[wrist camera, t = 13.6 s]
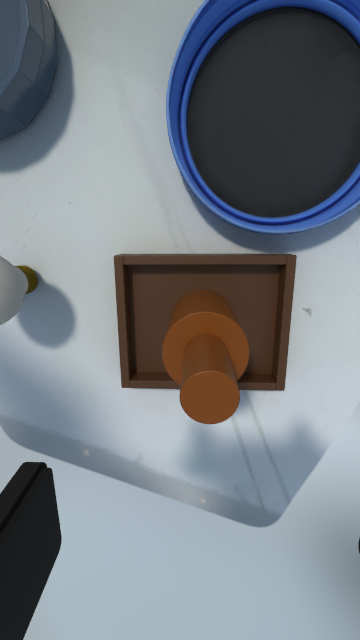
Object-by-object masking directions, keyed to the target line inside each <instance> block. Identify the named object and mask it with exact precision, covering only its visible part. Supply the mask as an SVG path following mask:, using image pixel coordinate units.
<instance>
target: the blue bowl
mask: <svg viewBox="0 0 360 640" xmlns="http://www.w3.org/2000/svg"><path fill="white" fill-rule="evenodd" d="M56 65H57V51H56V40H55V29H54V18H53V15H52V12H51V10H50V8H49V5H48V3H47V1H46V0H0V140H2V139H4V138H6V137H8V136H9V135H11V134H13V133H15V132H17V131H19V130H21V129H23V128H24V127H26V126H27V125H29V123H30V122H31V121H32V119H33V118H34V116H35V115H36V114H37V112H38V111H39V110H40V108H41V107H42V105H43V104H44V103H45V101H46V100H47V98H48V97H49V93H50V89H51V85H52V81H53V77H54V73H55V69H56Z"/></svg>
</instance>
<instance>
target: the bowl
mask: <svg viewBox="0 0 360 640" xmlns="http://www.w3.org/2000/svg"><path fill="white" fill-rule="evenodd" d="M166 115H167V127H168V135H169V140H170V144H171V148H172V151H173V155H174V158H175V161H176V163H177V166H178V168H179V170H180V172H181V174H182V176H183V178H184V180H185V182H186V183H187V185H188V186H189V188H190V189H191V191H192V192H193V194H194V195H195V196H196V197H197V198H198V200H199V201H200V202H201V203H202V204H203V205H204V206H205V207H206V208H208V209H209V210H210V211H211V212H212V213H214V214H215V215H216V216H218V217H219V218H221V219H222V220H224V221H226V222H228V223H230V224H232V225H234V226H236V227H239V228H242V229H245V230H248V231H252V232H257V233H264V234H290V233H297V232H302V231H306V230H310V229H313V228H316V227H319V226H322V225H325V224H327V223H329V222H331V221H334V220H336V219H338V218H340V217H341V216H343V215H345V214H346V213H348V212H350V211H351V210H352V209H354V208H355V207H357V206H358V205H359V204H360V0H205V1H204V2H203V3H202V5H201V6H200V7H199V9H198V10H197V12H196V13H195V15H194V17H193V18H192V20H191V22H190V23H189V25H188V27H187V29H186V31H185V33H184V35H183V37H182V40H181V42H180V45H179V47H178V50H177V52H176V55H175V58H174V61H173V65H172V68H171V72H170V77H169V82H168V89H167V99H166Z"/></svg>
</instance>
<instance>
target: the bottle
mask: <svg viewBox="0 0 360 640" xmlns="http://www.w3.org/2000/svg"><path fill="white" fill-rule="evenodd" d="M162 358H163V363H164V366H165V368H166V370H167V372H168V374H169V375H170V377H171V378H172V379H173V380H174V381H175V382H176V383H177V384H179V385H180V386H181V387H180V403H181V406H182V408H183V410H184V411H185V413H186V414H187V415H188V416H189V417H190V418H192V419H193V420H195V421H197V422H200V423H204V424H216V423H220V422H223V421H225V420H227V419H228V418H229V417H231V416H232V415H233V414H234V412H235V411H236V409H237V407H238V405H239V401H240V393H239V388H238V385H237V382H236V381H237V380H238V379H239V378H240V377H241V376H242V374H243V373H244V371H245V369H246V367H247V364H248V361H249V343H248V340H247V337H246V335H245V333H244V331H243V329H242V327H241V325H240V324H239V322H238V320H237V318H236V316H235V314H234V312H233V310H232V308H231V306H230V305H229V303H228V302H227V301H226V299H225V298H223V297H222V296H221V295H219V294H218V293H216V292H213V291H210V290H196V291H192V292H190V293H188V294H186V295H184V296H183V297H182V298H181V299H180V300H179V301H178V302H177V303H176V305H175V307H174V309H173V312H172V315H171V319H170V322H169V325H168V329H167V332H166V335H165V339H164V342H163V347H162Z"/></svg>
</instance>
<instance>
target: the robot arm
mask: <svg viewBox="0 0 360 640" xmlns="http://www.w3.org/2000/svg"><path fill="white" fill-rule="evenodd" d="M60 546H61V530H60V523H59V516H58V510H57V502H56V495H55V487H54V480H53V473H52V469H51V468H47V465H46V464H45V463H44V462H25V463H23V464H22V465H21V466H20V468H19V469H18V470H17V472H16V473H15V475H14V476H13V477H12V479H11V480H10V481H9V483H8V484H7V485H6V487H5V488H4V490H3V491H2V492H1V494H0V640H23V638H24V636H25V633H26V631H27V628H28V626H29V623H30V621H31V619H32V616H33V614H34V611H35V609H36V607H37V604H38V602H39V599H40V597H41V594H42V592H43V590H44V587H45V585H46V582H47V580H48V577H49V575H50V572H51V570H52V568H53V565H54V563H55V560H56V558H57V556H58V553H59V550H60ZM359 553H360V539H359Z"/></svg>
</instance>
